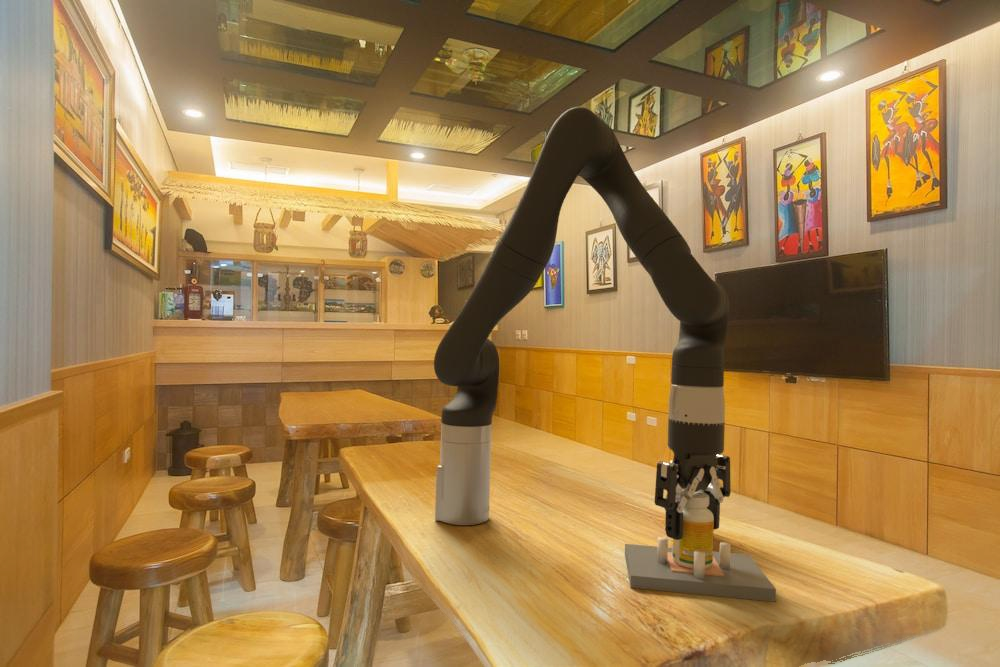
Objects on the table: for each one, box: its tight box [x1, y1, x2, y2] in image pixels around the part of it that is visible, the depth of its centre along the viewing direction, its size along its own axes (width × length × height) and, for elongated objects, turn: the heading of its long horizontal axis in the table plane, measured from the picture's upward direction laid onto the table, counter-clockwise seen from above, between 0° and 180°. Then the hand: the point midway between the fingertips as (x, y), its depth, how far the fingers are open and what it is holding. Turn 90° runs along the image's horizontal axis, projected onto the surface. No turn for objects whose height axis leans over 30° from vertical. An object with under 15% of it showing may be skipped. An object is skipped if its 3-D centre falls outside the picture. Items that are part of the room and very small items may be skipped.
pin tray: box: [624, 536, 777, 603], centre depth 77 cm, size 18×12×5 cm, turn 81°
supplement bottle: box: [672, 492, 714, 569], centre depth 77 cm, size 5×5×10 cm
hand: (693, 532), depth 77 cm, fingers open, 8 cm apart
